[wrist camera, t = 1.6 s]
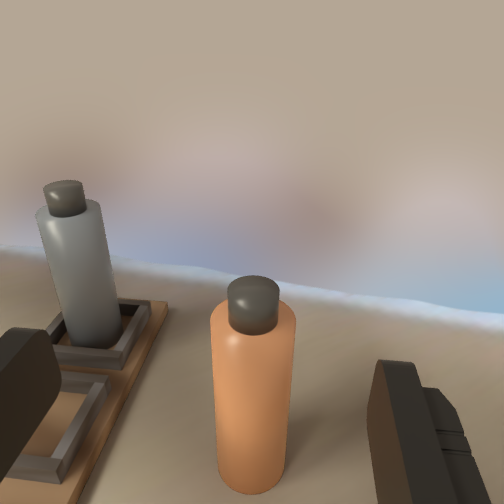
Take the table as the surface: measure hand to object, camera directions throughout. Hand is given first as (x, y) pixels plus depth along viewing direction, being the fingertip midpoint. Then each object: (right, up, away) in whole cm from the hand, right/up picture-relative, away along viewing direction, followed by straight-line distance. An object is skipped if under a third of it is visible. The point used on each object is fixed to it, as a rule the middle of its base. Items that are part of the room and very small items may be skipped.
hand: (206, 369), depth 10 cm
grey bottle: (-14, -5, +29) cm, 33 cm away
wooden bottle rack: (-14, -9, +25) cm, 30 cm away
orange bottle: (+1, -12, +20) cm, 23 cm away
